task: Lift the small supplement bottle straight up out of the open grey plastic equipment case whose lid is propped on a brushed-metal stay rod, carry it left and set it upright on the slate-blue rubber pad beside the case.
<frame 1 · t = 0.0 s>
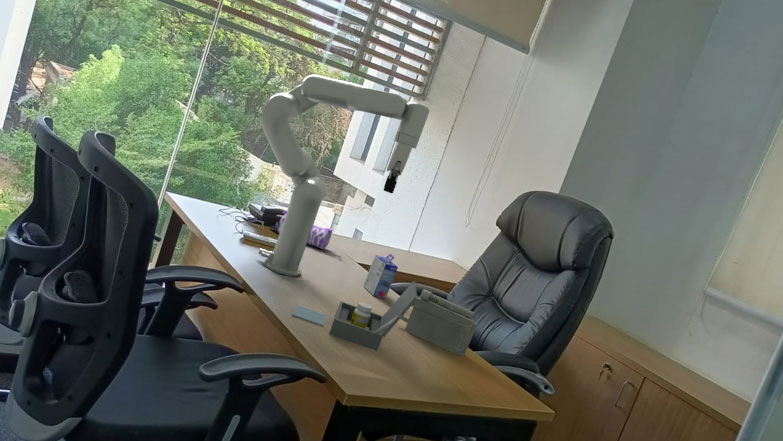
hand: (388, 190, 218), 37 cm above the table, tool pointing down, fingers open, 9 cm apart
pencil case: (300, 241, 272), on the table
supplement bottle: (355, 333, 187), resting in case
geiger counter: (426, 340, 205), on the table
pad: (309, 316, 187), on the table
ink cartridge box: (374, 293, 236), on the table
case: (355, 332, 187), on the table
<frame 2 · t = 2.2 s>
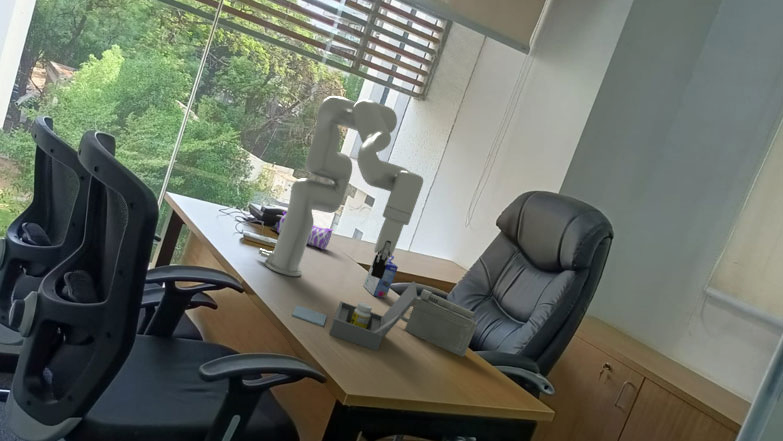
hand: (376, 273, 185), 18 cm above the table, tool pointing down, fingers open, 9 cm apart
nothing on the table moved.
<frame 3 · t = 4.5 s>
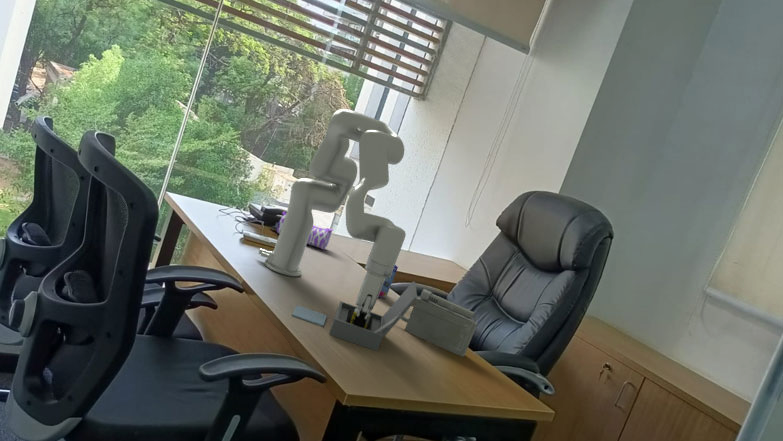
hand: (357, 327, 187), 2 cm above the table, tool pointing down, fingers closed on supplement bottle, 4 cm apart
supplement bottle: (355, 333, 187), resting in case, touching gripper
everything else where it was.
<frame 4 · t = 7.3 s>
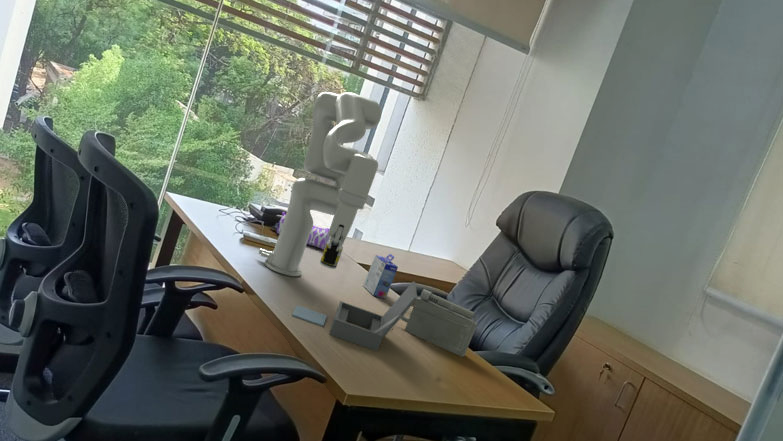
hand: (329, 260, 184), 17 cm above the table, tool pointing down, fingers closed on supplement bottle, 4 cm apart
supplement bottle: (327, 266, 185), point 15 cm above the table, touching gripper
everything else where it was.
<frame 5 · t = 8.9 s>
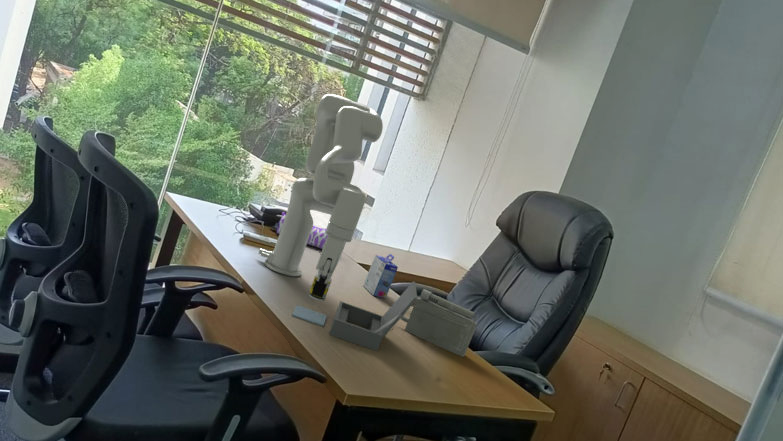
hand: (318, 292, 186), 7 cm above the table, tool pointing down, fingers closed on supplement bottle, 4 cm apart
supplement bottle: (316, 298, 186), point 6 cm above the table, touching gripper
when the fingers open (3 cm above the table, at t = 10.1 s): supplement bottle drops 1 cm, resting on pad.
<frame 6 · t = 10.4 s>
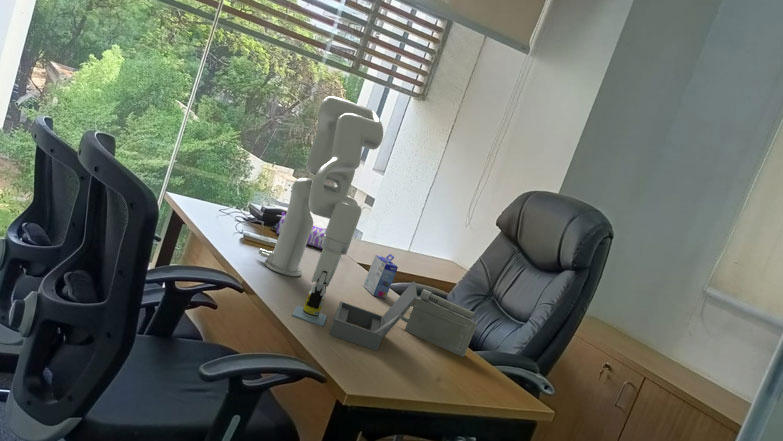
hand: (314, 302, 186), 4 cm above the table, tool pointing down, fingers open, 8 cm apart
supplement bottle: (309, 315, 187), resting on pad
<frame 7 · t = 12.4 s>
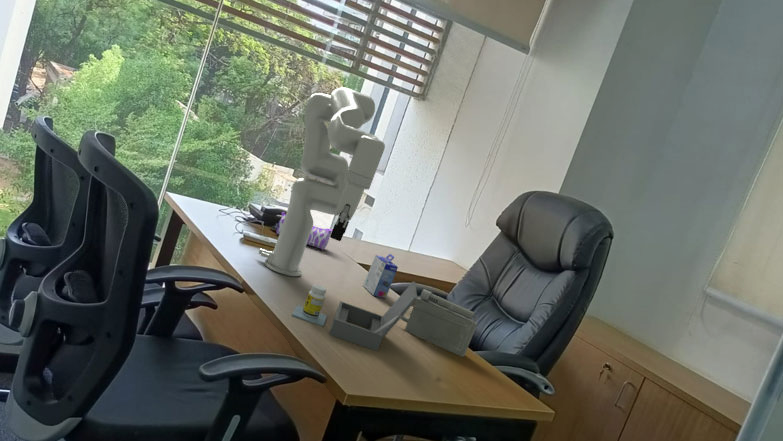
hand: (337, 235, 190), 23 cm above the table, tool pointing down, fingers open, 9 cm apart
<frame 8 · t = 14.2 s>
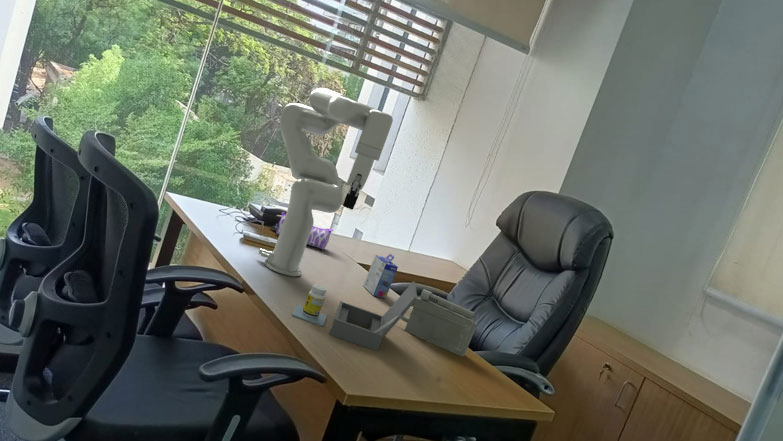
hand: (348, 205, 201), 30 cm above the table, tool pointing down, fingers open, 9 cm apart
at the end: supplement bottle inside the target area on the pad (0.1 cm from its centre), point 0.2 cm above the pad's base; supplement bottle tilted 0°; the gripper is holding nothing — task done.
